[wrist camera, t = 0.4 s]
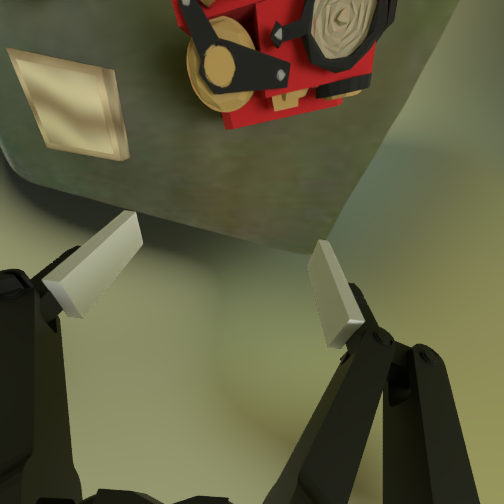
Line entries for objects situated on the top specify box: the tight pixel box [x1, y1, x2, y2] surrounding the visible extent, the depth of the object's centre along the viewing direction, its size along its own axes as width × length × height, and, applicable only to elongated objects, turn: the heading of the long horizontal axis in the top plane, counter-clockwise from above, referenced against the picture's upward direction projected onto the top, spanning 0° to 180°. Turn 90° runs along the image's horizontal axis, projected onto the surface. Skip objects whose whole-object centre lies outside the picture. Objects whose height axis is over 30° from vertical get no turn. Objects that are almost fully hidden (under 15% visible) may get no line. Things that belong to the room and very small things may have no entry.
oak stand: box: [6, 48, 131, 161], centre depth 31 cm, size 12×12×3 cm
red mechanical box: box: [172, 0, 397, 130], centre depth 21 cm, size 16×10×20 cm, turn 101°
